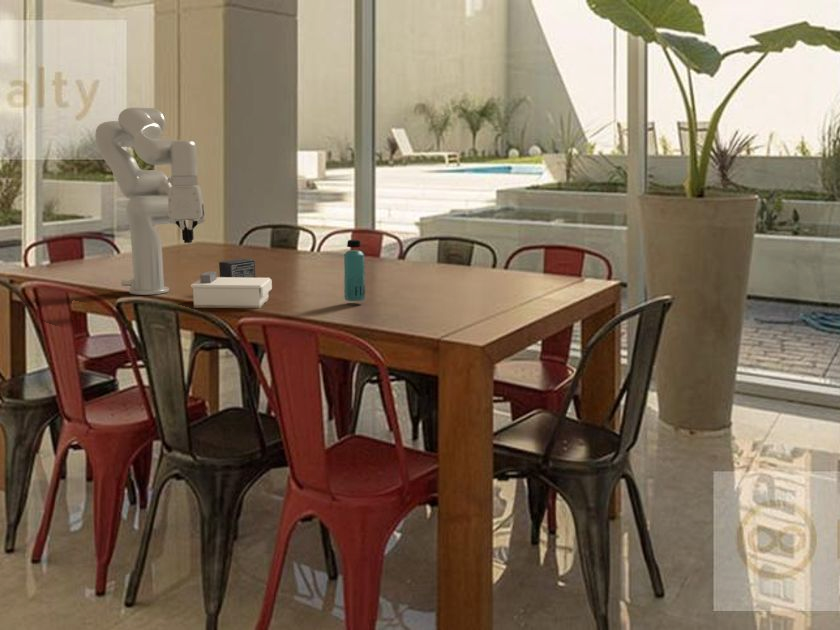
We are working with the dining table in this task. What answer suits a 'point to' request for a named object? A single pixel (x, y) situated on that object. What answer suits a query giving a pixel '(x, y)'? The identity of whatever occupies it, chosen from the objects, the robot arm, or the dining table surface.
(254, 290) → the base
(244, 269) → the small box
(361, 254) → the beverage bottle
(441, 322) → the dining table surface
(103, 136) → the robot arm
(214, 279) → the lid
